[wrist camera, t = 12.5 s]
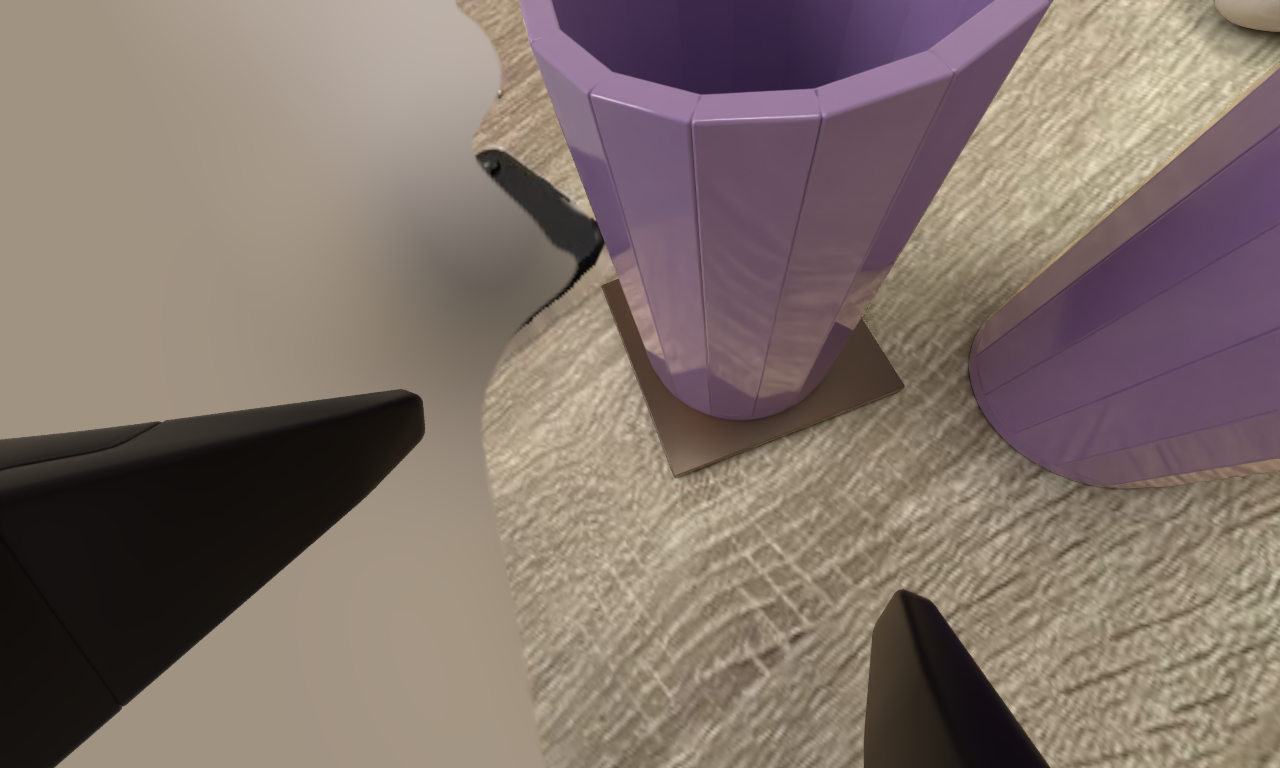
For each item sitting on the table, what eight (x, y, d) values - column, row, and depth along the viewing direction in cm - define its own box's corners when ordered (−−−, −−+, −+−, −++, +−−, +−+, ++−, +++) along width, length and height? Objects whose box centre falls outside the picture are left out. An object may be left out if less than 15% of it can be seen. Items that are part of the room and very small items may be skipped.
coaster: (675, 478, 16) (674, 476, 16) (603, 290, 19) (601, 285, 19) (901, 390, 16) (905, 386, 15) (790, 214, 19) (792, 207, 18)
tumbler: (727, 460, 15) (745, 232, 4) (613, 325, 18) (437, -38, 7) (878, 338, 16) (1237, -141, 5) (746, 224, 19) (784, -263, 7)
